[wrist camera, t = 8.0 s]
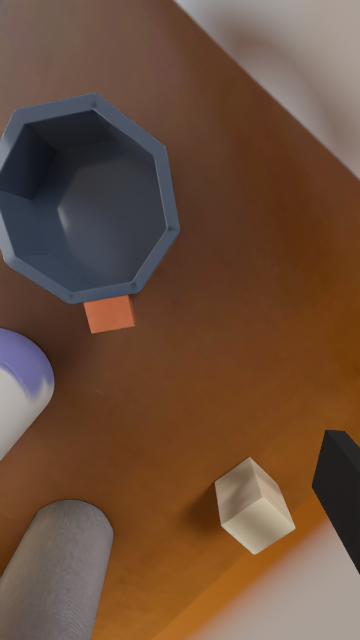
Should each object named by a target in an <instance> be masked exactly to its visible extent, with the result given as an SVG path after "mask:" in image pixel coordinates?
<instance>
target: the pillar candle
mask: <svg viewBox="0 0 360 640" xmlns="http://www.w3.org/2000/svg"><path fill="white" fill-rule="evenodd" d="M113 536H114V533H113V529H112V527H111V525H110V523H109V521H108V520H107V518H106V517H105V515H104V514H103V513H102V511H100V510H99V509H98V508H96V507H95V506H93V505H91V504H89V503H85V502H83V501H79V500H61V501H57V502H53V503H51V504H49V505H47V506H45V507H43V508H41V509H40V510H39V511H38V512H37V513H36V514H35V516H34V518H33V520H32V522H31V524H30V526H29V527H28V529H27V531H26V533H25V535H24V537H23V538H22V540H21V542H20V544H19V546H18V548H17V550H16V552H15V553H14V555H13V557H12V559H11V560H10V562H9V564H8V565H7V567H6V569H5V571H4V573H3V575H2V577H1V578H0V640H91V636H92V631H93V627H94V623H95V618H96V615H97V610H98V606H99V601H100V596H101V592H102V588H103V583H104V578H105V574H106V570H107V565H108V561H109V556H110V551H111V547H112V542H113Z"/></svg>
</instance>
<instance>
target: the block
mask: <svg viewBox="0 0 360 640" xmlns="http://www.w3.org/2000/svg"><path fill="white" fill-rule="evenodd" d="M215 489H216V495H217V502H218V509H219V515H220V522H221V526H222V527H223V528H224V529H225V530H226V531H227V532H228V533H230V534H231V535H232V536H233V537H234V538H235V539H236V540H238V541H239V542H240V543H241V544H242V545H243V546H244V547H246V548H247V549H248V550H249V551H250V552H251V553H252V554H254V555H255V554H257V553H258V552H260V551H262V550H263V549H265V548H266V547H268V546H269V545H271V544H272V543H274V542H275V541H277V540H279V539H280V538H282V537H283V536H285V535H286V534H288V533H289V532H291V531H293V530H294V529H295V525H294V523H293V521H292V518H291V516H290V513H289V511H288V508H287V506H286V503H285V501H284V499H283V496H282V494H281V491H280V489H279V487H278V484H277V483H276V482H275V481H274V480H273V479H272V478H271V477H270V476H269V475H268V474H267V473H266V472H265V471H264V470H263V469H262V468H261V467H260V466H259V465H258V464H257V463H256V462H255V461H253V460H252V459H251V458H250V457H248V458H247V459H245V460H244V461H243V462H241V463H240V464H239V465H237V466H236V467H234V468H233V469H232V470H230V471H229V472H228V473H226V474H225V475H223V476H222V477H221V478H219V479H218V480H217V481H215Z"/></svg>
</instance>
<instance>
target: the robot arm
mask: <svg viewBox="0 0 360 640" xmlns="http://www.w3.org/2000/svg"><path fill="white" fill-rule="evenodd" d="M312 488H313V490H314V492H315V494H316V495H317V497H318V499H319V501H320V503H321V505H322V506H323V508H324V510H325V512H326V514H327V515H328V517H329V519H330V521H331V523H332V525H333V527H334V528H335V530H336V532H337V534H338V536H339V538H340V539H341V541H342V543H343V545H344V547H345V548H346V550H347V552H348V554H349V556H350V558H351V559H352V561H353V563H354V564H355V567H356V569H357V570H358V572H359V574H360V448H359V446H358V445H357V444H356V443H355V442H354V441H353V440H352V439H351V438H350V436H349V435H348V434H347V433H346V432H345V431H336V430H325V434H324V438H323V442H322V446H321V450H320V454H319V458H318V463H317V467H316V471H315V475H314V479H313V483H312Z"/></svg>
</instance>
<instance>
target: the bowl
mask: <svg viewBox="0 0 360 640" xmlns="http://www.w3.org/2000/svg"><path fill="white" fill-rule="evenodd" d="M179 236H180V225H179V219H178V213H177V207H176V202H175V196H174V190H173V184H172V178H171V172H170V166H169V160H168V154H167V149H166V147H165V146H164V145H163V144H162V143H160V142H159V141H158V140H157V139H155V138H154V137H153V136H151V135H150V134H149V133H148V132H146V131H145V130H144V129H142V128H141V127H140V126H139V125H137V124H136V123H135V122H133V121H132V120H131V119H130V118H128V117H127V116H126V115H125V114H123V113H122V112H121V111H119V110H118V109H117V108H116V107H114V106H113V105H112V104H110V103H109V102H108V101H107V100H105V99H104V98H103V97H101V96H100V95H99V94H98V93H90V94H85V95H80V96H76V97H71V98H66V99H62V100H57V101H52V102H47V103H43V104H38V105H33V106H29V107H24V108H19V109H15V111H13V113H12V116H11V118H10V120H9V122H8V124H7V126H6V128H5V131H4V133H3V135H2V137H1V139H0V249H1V252H2V255H3V258H4V261H5V263H6V264H7V265H8V266H10V267H11V268H13V269H15V270H16V271H18V272H19V273H21V274H22V275H24V276H26V277H27V278H29V279H30V280H32V281H33V282H35V283H37V284H38V285H40V286H41V287H43V288H44V289H46V290H48V291H49V292H51V293H52V294H54V295H55V296H57V297H59V298H60V299H62V300H63V301H65V302H66V303H68V304H71V305H73V304H79V303H83V304H84V307H85V311H86V315H87V318H88V322H89V326H90V329H91V333H92V334H94V333H100V332H106V331H111V330H117V329H123V328H129V327H134V326H135V324H136V320H135V316H134V311H133V307H132V303H131V298H130V294H135V293H139V292H140V291H141V290H142V289H143V288H144V287H145V286H146V285H147V284H148V282H149V281H150V280H151V278H152V277H153V275H154V274H155V272H156V271H157V269H158V268H159V266H160V265H161V263H162V262H163V260H164V259H165V257H166V256H167V254H168V253H169V251H170V250H171V248H172V247H173V245H174V244H175V242H176V241H177V239H178V238H179Z"/></svg>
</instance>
